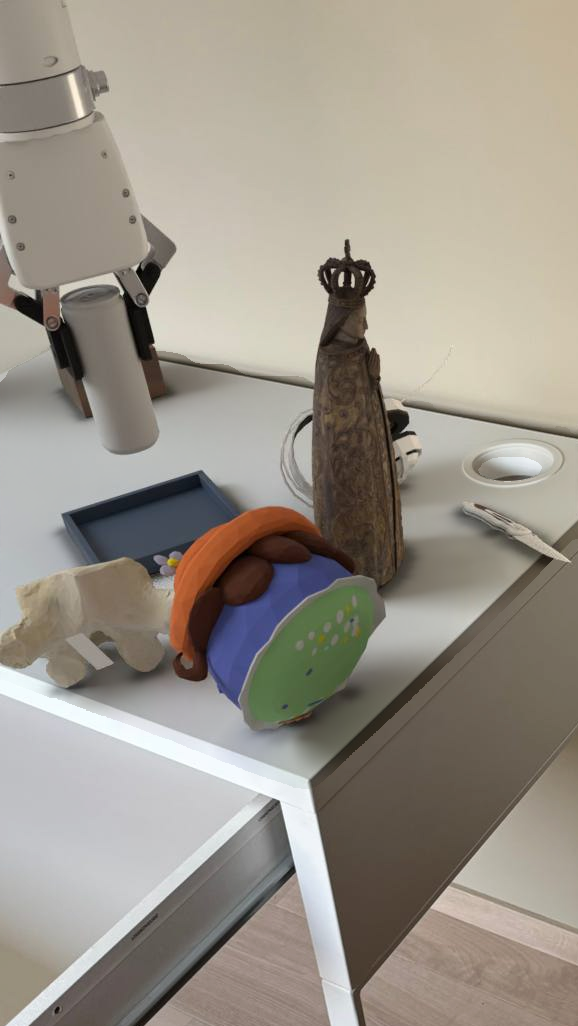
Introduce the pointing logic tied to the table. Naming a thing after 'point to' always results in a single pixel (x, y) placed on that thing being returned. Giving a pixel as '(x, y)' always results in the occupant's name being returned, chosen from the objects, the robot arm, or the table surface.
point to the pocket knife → (510, 529)
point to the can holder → (79, 394)
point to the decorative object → (89, 618)
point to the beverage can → (111, 368)
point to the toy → (266, 615)
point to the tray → (150, 521)
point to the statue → (353, 432)
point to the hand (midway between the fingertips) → (108, 363)
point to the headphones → (403, 442)
